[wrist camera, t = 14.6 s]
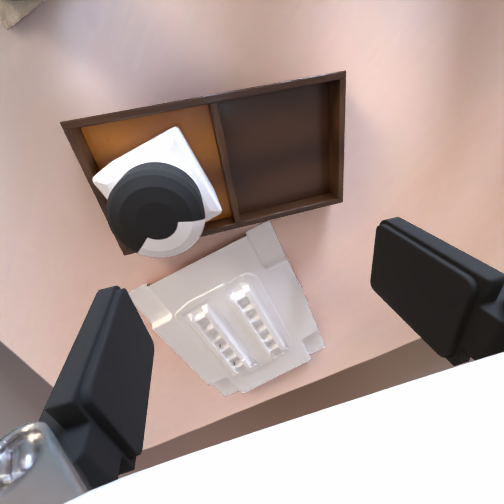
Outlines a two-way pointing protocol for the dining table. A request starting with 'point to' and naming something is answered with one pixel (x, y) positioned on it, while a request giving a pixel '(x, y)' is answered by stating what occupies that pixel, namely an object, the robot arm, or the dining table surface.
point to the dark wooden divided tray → (239, 146)
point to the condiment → (16, 10)
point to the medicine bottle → (158, 196)
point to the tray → (234, 313)
